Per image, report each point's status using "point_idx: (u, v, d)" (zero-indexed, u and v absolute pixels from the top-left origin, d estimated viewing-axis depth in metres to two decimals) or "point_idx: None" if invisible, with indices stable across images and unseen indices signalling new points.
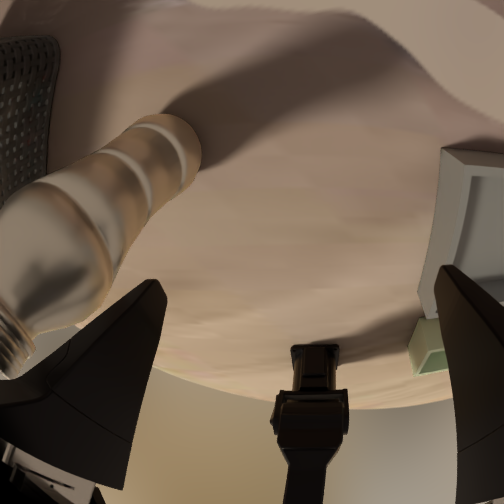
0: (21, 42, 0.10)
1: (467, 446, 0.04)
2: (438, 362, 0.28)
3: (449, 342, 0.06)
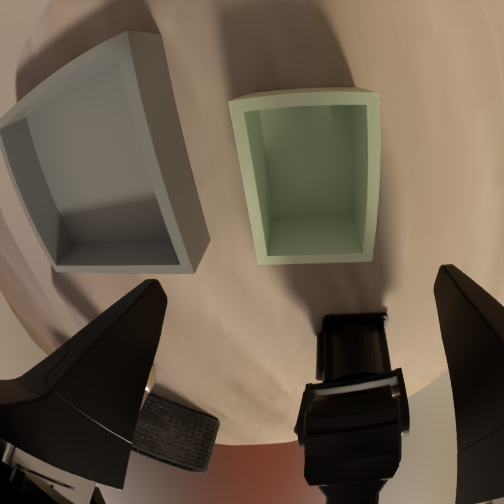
0: None
1: (467, 447, 0.04)
2: (362, 186, 0.13)
3: (449, 342, 0.06)
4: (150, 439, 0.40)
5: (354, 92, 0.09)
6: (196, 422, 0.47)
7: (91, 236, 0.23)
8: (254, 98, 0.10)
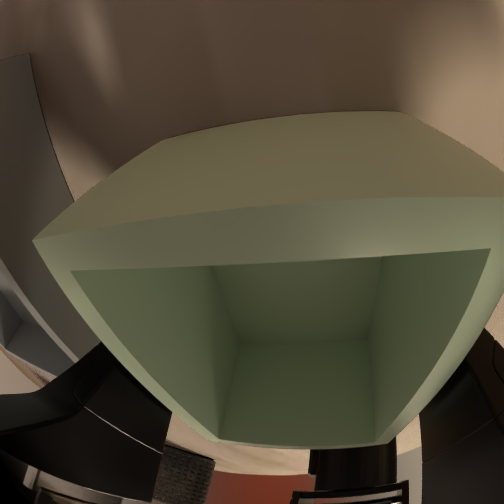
0: None
1: (430, 458, 0.04)
2: (397, 364, 0.06)
3: None
4: None
5: (467, 197, 0.02)
6: (188, 463, 0.39)
7: (34, 319, 0.16)
8: (75, 234, 0.03)
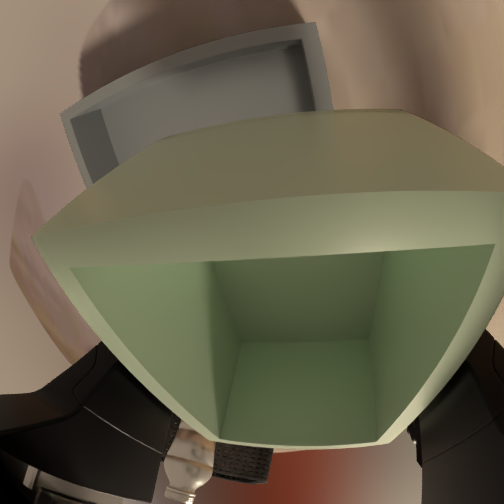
0: None
1: (430, 458, 0.04)
2: (399, 362, 0.05)
3: None
4: None
5: (471, 191, 0.02)
6: None
7: None
8: (75, 230, 0.03)
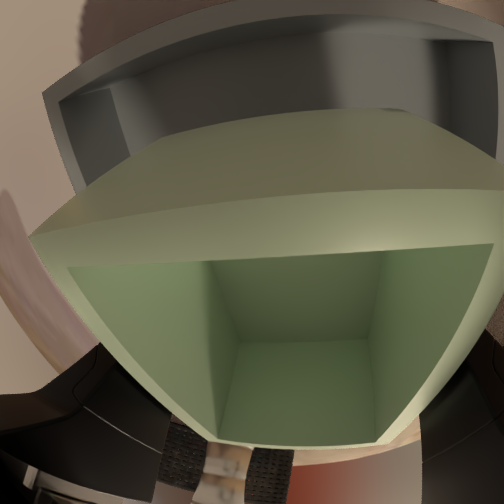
0: None
1: (430, 458, 0.04)
2: (398, 363, 0.05)
3: None
4: None
5: (469, 189, 0.02)
6: (268, 455, 0.39)
7: None
8: (71, 230, 0.03)
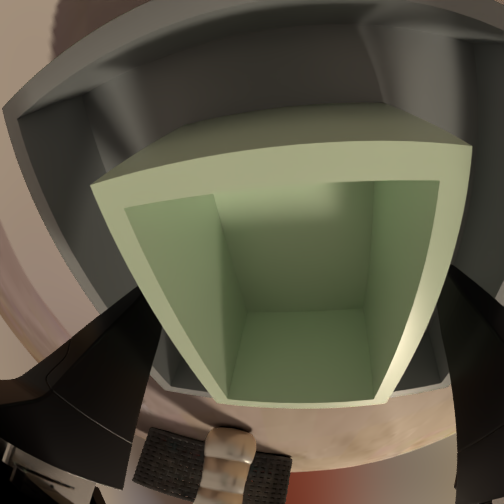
0: None
1: (467, 446, 0.04)
2: (389, 312, 0.07)
3: (449, 342, 0.06)
4: None
5: (413, 142, 0.03)
6: (264, 465, 0.37)
7: None
8: (137, 174, 0.04)
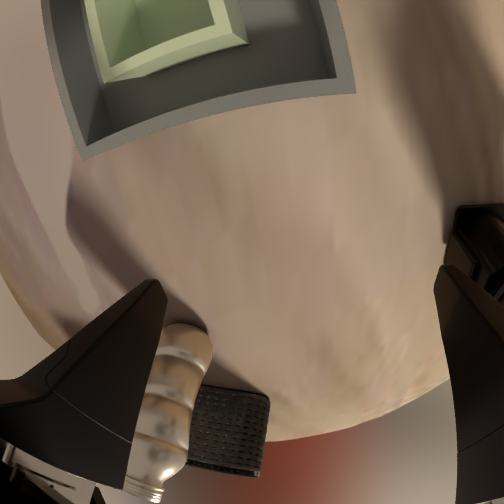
0: None
1: (467, 446, 0.04)
2: None
3: (449, 342, 0.06)
4: None
5: None
6: (233, 403, 0.37)
7: (149, 106, 0.15)
8: None
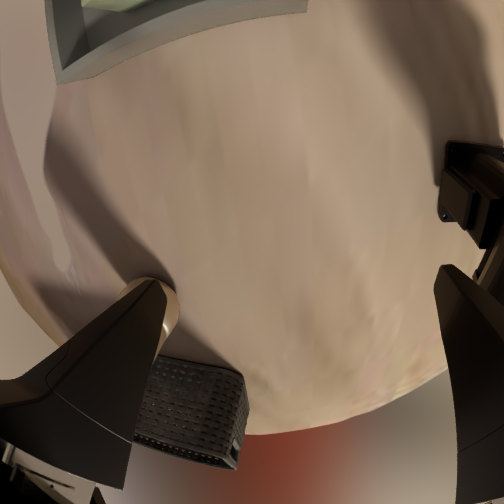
0: None
1: (466, 446, 0.04)
2: None
3: (449, 342, 0.06)
4: None
5: None
6: (200, 378, 0.34)
7: None
8: None
